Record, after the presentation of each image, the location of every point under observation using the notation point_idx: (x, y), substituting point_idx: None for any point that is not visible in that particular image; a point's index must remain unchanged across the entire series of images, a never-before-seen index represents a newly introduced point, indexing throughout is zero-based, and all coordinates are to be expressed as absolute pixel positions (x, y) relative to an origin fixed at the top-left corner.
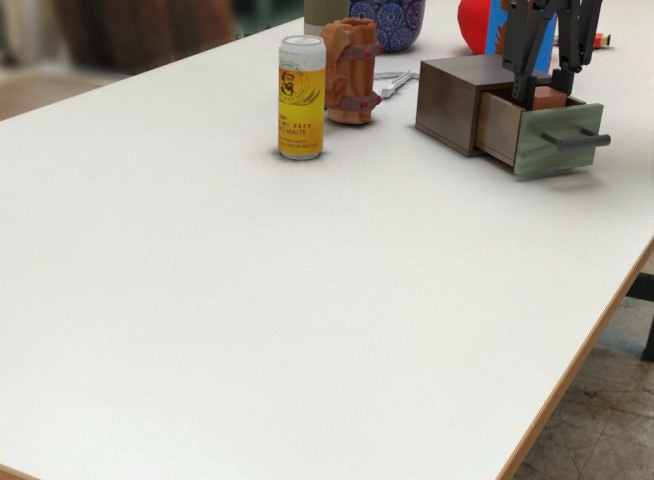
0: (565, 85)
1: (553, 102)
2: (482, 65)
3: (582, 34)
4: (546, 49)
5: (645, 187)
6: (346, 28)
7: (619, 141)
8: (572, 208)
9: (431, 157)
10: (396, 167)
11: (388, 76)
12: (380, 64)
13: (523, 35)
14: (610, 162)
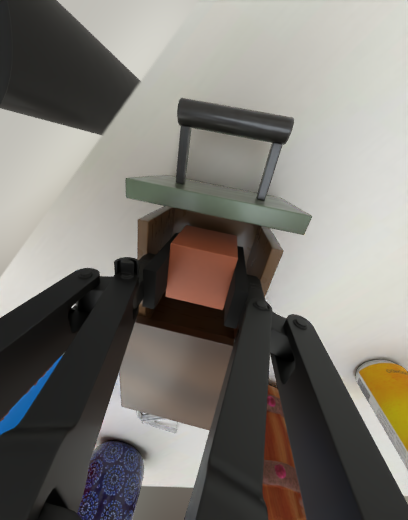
0: (161, 259)
1: (201, 244)
2: (173, 393)
3: (45, 342)
4: (35, 392)
5: (145, 80)
6: None
7: (72, 234)
8: (310, 64)
9: (284, 305)
10: (341, 305)
11: (158, 423)
12: (144, 435)
13: (335, 423)
14: (124, 188)
